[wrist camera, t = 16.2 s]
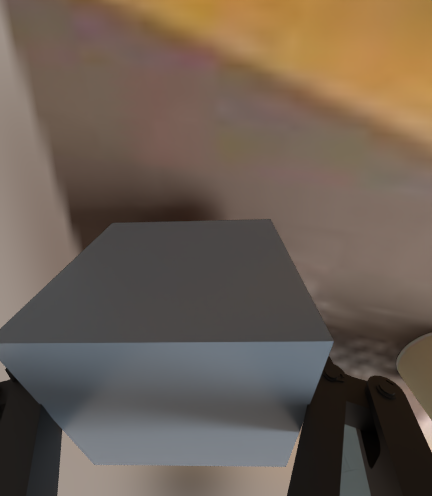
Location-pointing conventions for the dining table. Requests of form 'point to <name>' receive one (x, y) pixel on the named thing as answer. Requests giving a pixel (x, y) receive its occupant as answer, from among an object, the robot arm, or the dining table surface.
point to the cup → (353, 466)
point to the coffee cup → (418, 369)
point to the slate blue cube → (174, 345)
